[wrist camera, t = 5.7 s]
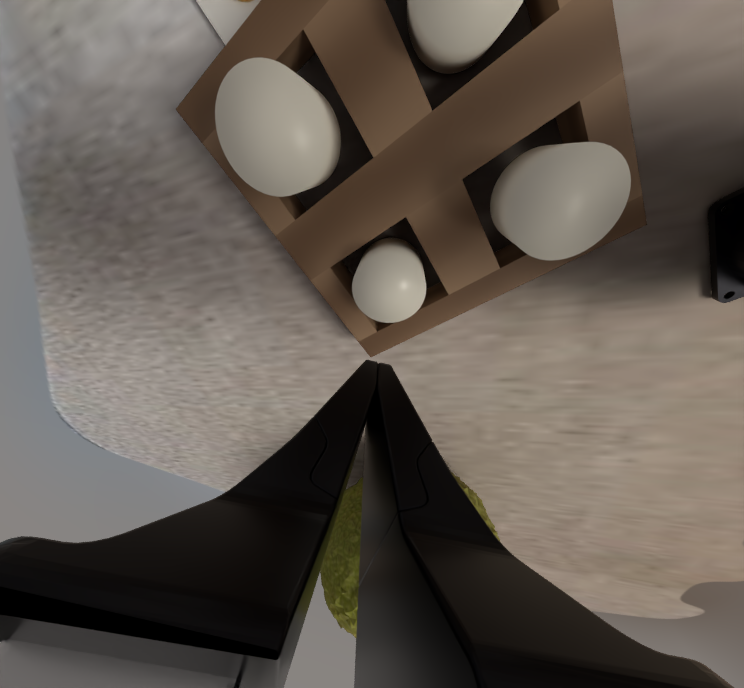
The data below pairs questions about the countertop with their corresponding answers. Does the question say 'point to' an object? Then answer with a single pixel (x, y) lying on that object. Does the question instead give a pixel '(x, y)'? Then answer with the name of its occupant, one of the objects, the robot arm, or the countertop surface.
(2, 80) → the countertop surface
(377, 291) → the button
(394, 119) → the board
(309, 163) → the button
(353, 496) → the fruit
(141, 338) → the countertop surface
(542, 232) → the pale grey egg
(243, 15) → the card
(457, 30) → the white egg
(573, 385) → the countertop surface
